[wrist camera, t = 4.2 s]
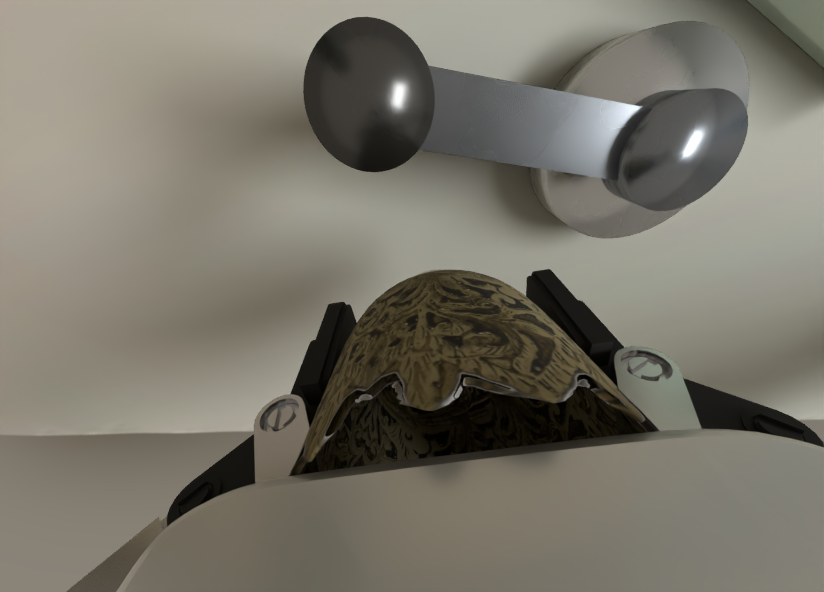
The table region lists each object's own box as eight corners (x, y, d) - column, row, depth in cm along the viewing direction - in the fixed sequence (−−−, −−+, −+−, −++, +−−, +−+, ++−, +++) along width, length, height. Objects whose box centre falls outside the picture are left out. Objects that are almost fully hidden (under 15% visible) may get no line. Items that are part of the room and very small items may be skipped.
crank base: (609, -13, 12) (646, -32, 10) (744, 89, 14) (793, 88, 12) (497, 189, 15) (510, 200, 14) (616, 245, 17) (640, 260, 16)
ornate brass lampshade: (408, 387, 15) (414, 610, 9) (307, 279, 12) (184, 511, 5) (551, 321, 13) (705, 544, 7) (480, 171, 10) (646, 313, 3)
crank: (725, 99, 12) (967, 99, 7) (664, 204, 14) (815, 261, 9) (343, 22, 10) (298, -57, 5) (341, 157, 12) (306, 195, 7)
